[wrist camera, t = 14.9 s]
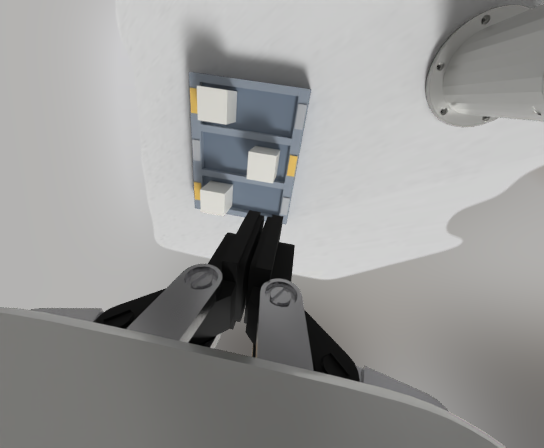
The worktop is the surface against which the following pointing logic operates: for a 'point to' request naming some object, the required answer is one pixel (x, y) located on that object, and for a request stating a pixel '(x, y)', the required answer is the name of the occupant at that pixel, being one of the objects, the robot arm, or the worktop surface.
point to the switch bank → (249, 142)
